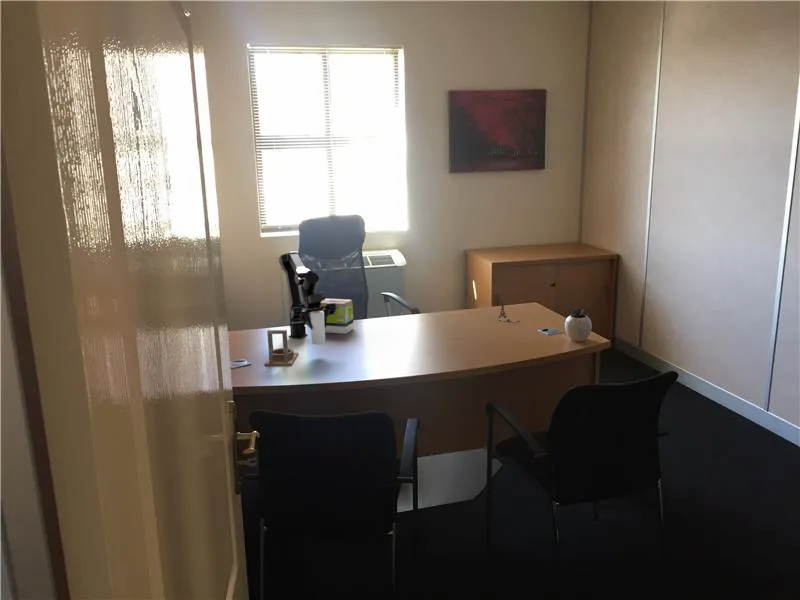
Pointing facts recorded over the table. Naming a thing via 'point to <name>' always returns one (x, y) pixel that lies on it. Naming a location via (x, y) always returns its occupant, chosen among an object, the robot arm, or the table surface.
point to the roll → (317, 327)
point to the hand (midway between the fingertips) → (318, 328)
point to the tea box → (339, 316)
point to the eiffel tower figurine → (502, 310)
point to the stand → (280, 351)
